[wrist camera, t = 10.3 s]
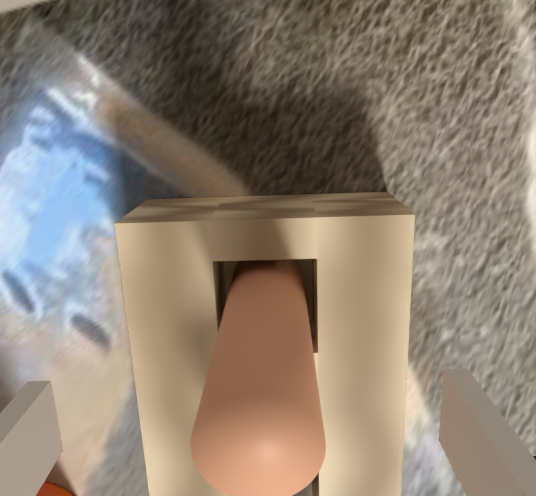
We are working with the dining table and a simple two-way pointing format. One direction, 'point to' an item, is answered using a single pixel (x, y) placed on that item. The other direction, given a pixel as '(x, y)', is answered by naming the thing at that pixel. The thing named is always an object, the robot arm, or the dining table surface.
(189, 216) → the bore block
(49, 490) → the coffee cup
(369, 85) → the dining table surface
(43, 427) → the robot arm
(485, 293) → the dining table surface
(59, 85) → the dining table surface
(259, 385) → the dowel
